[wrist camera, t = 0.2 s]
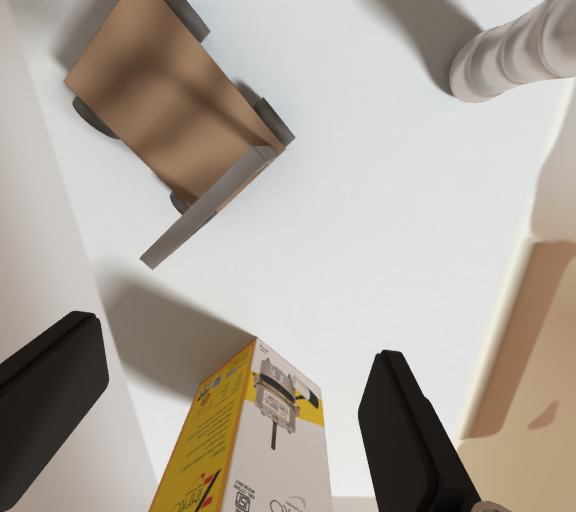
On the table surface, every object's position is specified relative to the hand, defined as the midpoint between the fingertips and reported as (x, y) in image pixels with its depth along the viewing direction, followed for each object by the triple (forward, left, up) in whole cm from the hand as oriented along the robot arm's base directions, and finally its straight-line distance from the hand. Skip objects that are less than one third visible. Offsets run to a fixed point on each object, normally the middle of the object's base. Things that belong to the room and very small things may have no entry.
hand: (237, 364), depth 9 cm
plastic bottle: (-26, +4, -31) cm, 41 cm away
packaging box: (+27, +24, -31) cm, 47 cm away
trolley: (+2, -14, -31) cm, 34 cm away
